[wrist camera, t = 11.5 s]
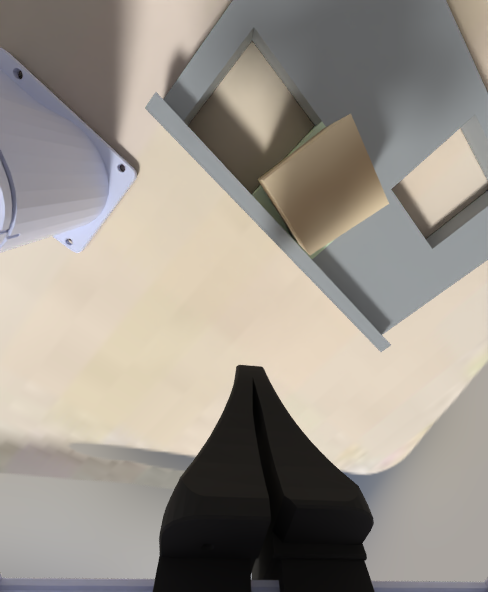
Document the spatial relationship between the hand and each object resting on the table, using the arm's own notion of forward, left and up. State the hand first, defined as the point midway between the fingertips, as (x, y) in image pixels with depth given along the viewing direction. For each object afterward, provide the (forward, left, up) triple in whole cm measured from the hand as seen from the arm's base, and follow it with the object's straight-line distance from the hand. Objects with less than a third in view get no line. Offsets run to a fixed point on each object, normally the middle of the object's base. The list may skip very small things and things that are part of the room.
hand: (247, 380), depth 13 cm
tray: (-1, +13, -10) cm, 16 cm away
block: (-3, +10, -8) cm, 13 cm away
